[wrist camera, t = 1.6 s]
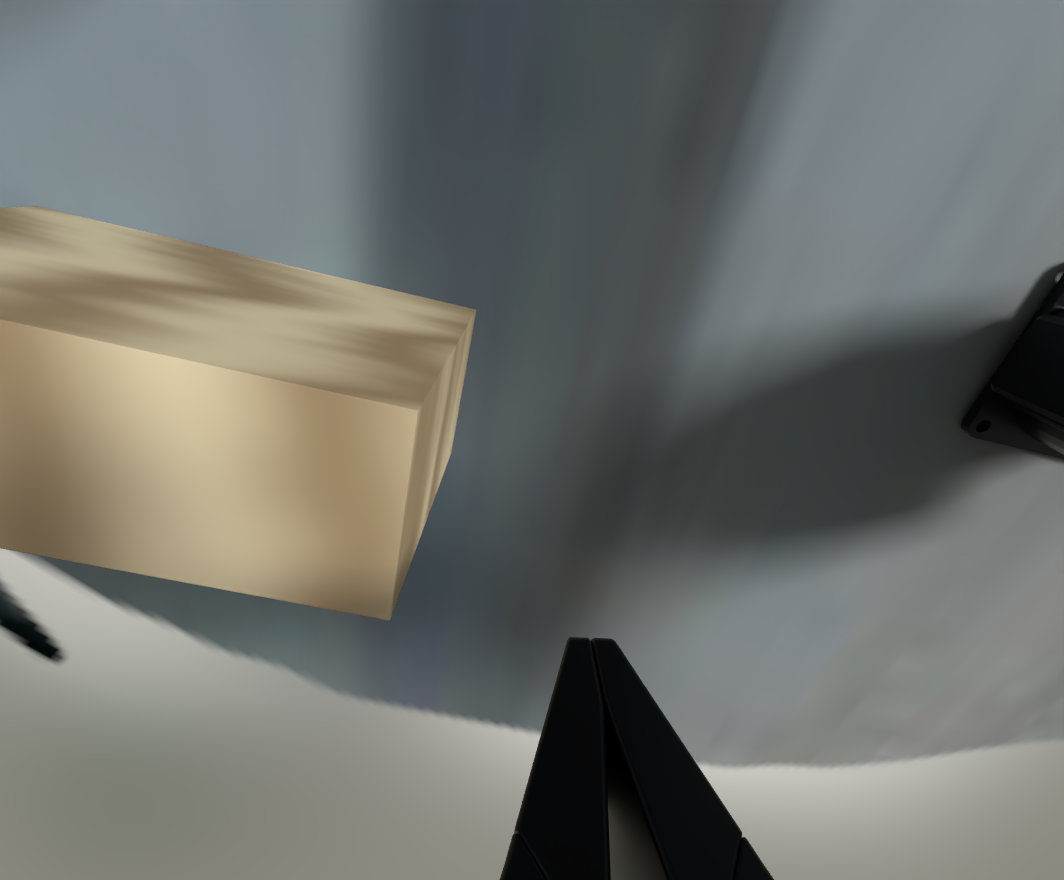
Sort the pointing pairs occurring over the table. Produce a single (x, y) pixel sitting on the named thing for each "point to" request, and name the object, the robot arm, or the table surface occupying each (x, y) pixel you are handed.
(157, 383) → the beech block
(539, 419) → the table surface
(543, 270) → the table surface
